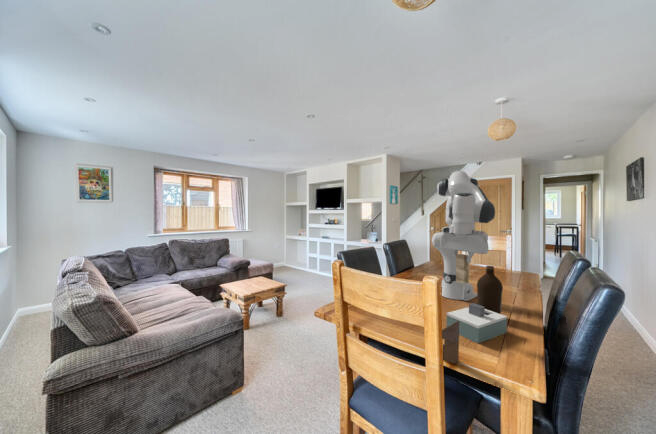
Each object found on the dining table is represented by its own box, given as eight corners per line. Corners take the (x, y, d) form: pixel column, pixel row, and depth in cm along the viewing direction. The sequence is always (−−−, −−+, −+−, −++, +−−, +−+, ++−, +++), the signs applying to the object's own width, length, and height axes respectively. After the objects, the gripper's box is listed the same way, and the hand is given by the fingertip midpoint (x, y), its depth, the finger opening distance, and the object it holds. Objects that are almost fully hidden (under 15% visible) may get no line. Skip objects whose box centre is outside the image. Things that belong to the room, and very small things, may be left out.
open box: (474, 320, 120) (474, 307, 120) (506, 332, 108) (506, 318, 108) (446, 328, 111) (446, 315, 111) (478, 343, 99) (478, 328, 99)
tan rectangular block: (460, 280, 113) (461, 254, 113) (468, 282, 110) (469, 255, 110) (455, 281, 111) (456, 254, 111) (463, 283, 108) (464, 255, 108)
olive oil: (480, 320, 120) (481, 267, 120) (473, 311, 131) (474, 263, 130) (505, 322, 118) (507, 269, 117) (496, 313, 128) (498, 264, 128)
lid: (474, 307, 120) (475, 297, 120) (506, 318, 108) (507, 307, 108) (446, 315, 111) (447, 303, 111) (478, 328, 99) (478, 315, 99)
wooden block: (453, 364, 85) (455, 311, 85) (424, 350, 93) (425, 302, 93) (459, 360, 87) (460, 309, 87) (429, 347, 96) (430, 300, 95)
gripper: (492, 231, 103) (491, 265, 103) (447, 228, 121) (446, 257, 121) (483, 231, 100) (482, 266, 100) (438, 228, 118) (437, 258, 118)
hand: (462, 261), depth 110 cm, fingers closed on tan rectangular block, 3 cm apart
